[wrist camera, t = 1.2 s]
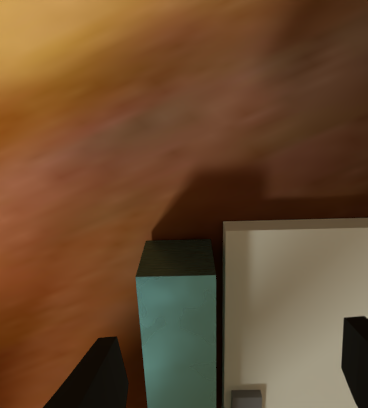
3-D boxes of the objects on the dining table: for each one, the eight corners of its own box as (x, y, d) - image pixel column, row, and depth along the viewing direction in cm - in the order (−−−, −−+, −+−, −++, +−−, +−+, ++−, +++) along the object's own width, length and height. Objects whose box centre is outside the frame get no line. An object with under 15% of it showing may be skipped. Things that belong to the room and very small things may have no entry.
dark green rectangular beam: (211, 421, 25) (216, 489, 21) (160, 421, 25) (154, 490, 21) (210, 238, 20) (216, 278, 16) (146, 240, 20) (134, 280, 16)
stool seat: (431, 410, 25) (452, 437, 23) (221, 412, 25) (224, 440, 23) (487, 214, 20) (520, 228, 18) (223, 221, 20) (226, 235, 18)
